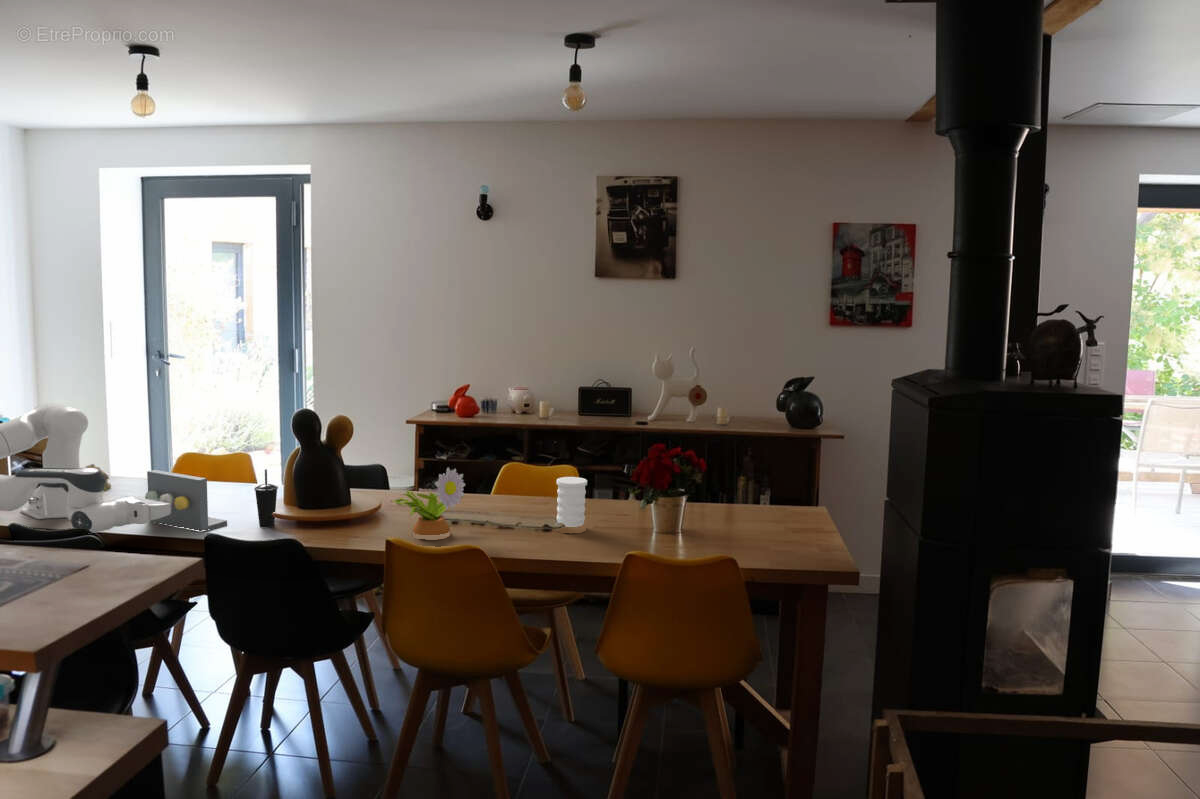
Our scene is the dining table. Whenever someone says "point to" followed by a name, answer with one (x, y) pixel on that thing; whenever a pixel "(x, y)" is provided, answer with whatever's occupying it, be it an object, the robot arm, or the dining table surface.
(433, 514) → the decorative plant
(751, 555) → the dining table surface
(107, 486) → the ceramic model
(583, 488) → the decorative container
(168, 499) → the button cream
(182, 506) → the button mustard
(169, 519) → the button panel
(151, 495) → the button sage
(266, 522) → the drinking cup
